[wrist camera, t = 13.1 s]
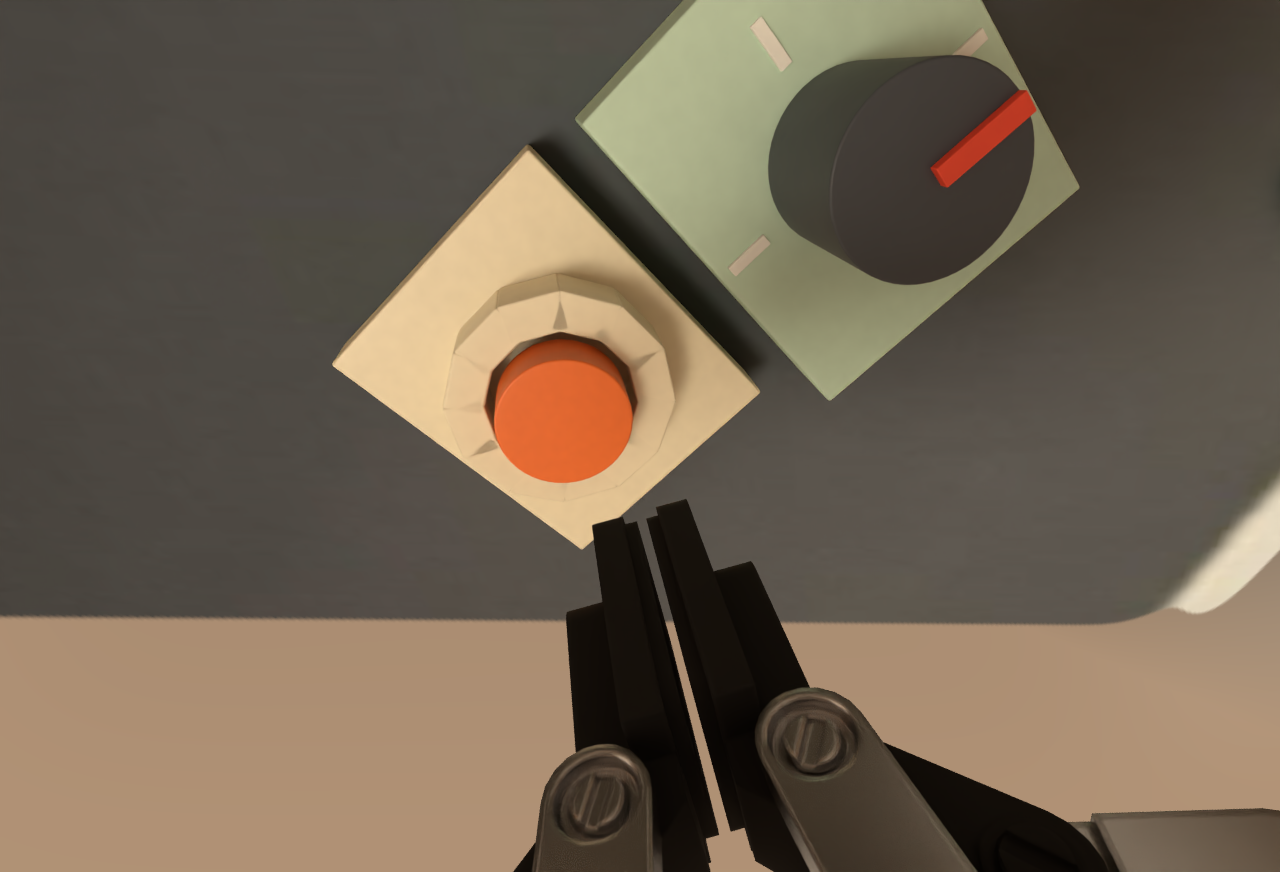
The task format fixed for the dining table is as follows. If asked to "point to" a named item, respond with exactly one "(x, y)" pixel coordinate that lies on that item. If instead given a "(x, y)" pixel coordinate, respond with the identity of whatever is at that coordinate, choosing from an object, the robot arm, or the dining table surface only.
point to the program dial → (904, 163)
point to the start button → (562, 411)
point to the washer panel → (739, 152)
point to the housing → (533, 313)
